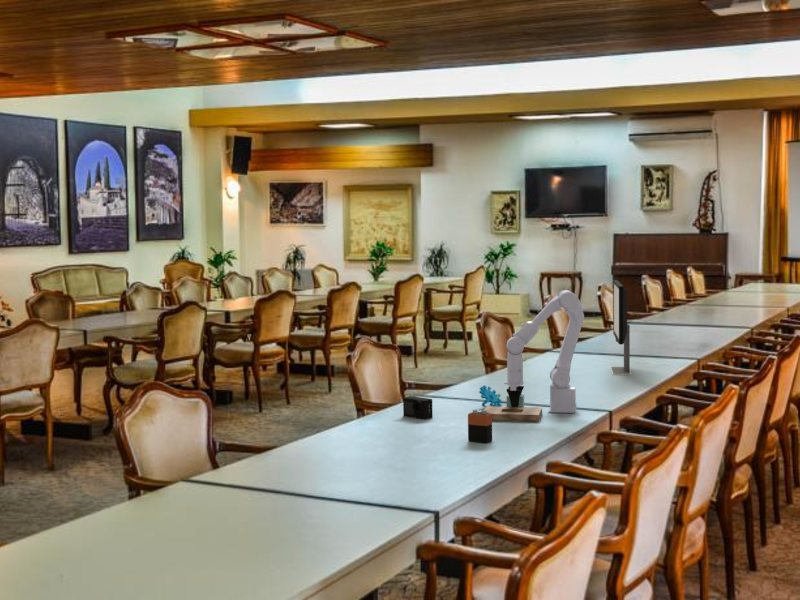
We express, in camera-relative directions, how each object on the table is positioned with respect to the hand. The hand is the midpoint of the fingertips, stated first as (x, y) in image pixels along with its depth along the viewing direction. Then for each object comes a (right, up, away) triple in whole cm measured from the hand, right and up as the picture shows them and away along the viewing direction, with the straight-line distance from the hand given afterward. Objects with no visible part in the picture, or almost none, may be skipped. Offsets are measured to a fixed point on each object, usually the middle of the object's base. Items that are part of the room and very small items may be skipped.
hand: (515, 407), depth 385 cm
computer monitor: (+57, +7, +91) cm, 108 cm away
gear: (-8, -1, +12) cm, 15 cm away
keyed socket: (-2, -3, -11) cm, 11 cm away
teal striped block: (0, -2, 0) cm, 2 cm away
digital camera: (-36, -3, -7) cm, 37 cm away
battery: (-17, -6, -48) cm, 51 cm away
